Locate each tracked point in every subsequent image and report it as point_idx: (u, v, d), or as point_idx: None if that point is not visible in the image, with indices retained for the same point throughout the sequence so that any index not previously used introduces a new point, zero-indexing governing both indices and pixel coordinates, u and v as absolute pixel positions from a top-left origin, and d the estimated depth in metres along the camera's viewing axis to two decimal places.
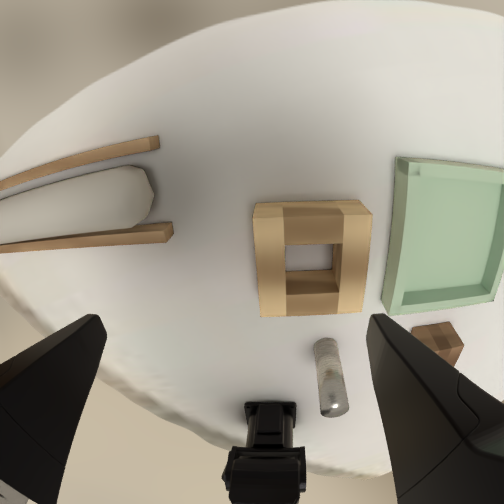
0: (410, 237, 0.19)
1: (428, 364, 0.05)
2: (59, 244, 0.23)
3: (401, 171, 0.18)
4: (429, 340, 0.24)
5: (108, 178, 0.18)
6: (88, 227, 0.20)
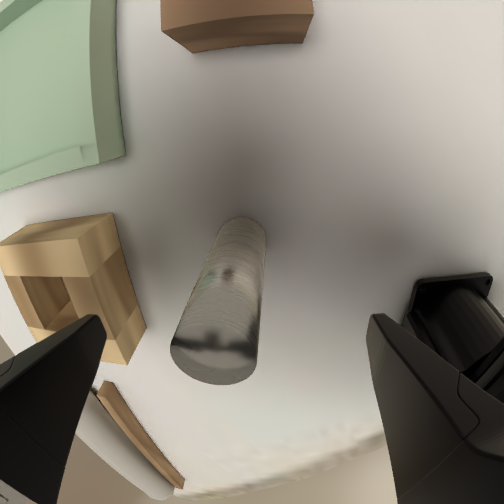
0: (5, 177, 0.11)
1: (428, 364, 0.05)
2: (145, 453, 0.25)
3: None
4: None
5: None
6: (97, 438, 0.21)
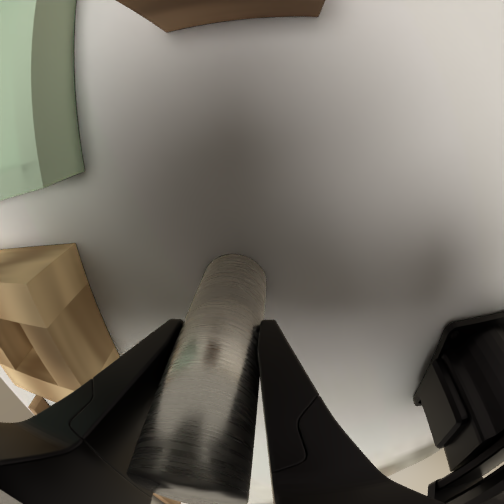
0: None
1: (284, 380, 0.05)
2: None
3: None
4: None
5: None
6: None
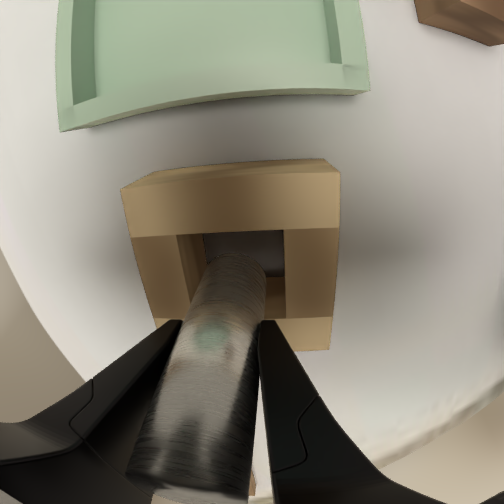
0: (170, 83, 0.09)
1: (284, 380, 0.05)
2: None
3: (89, 125, 0.11)
4: None
5: None
6: None
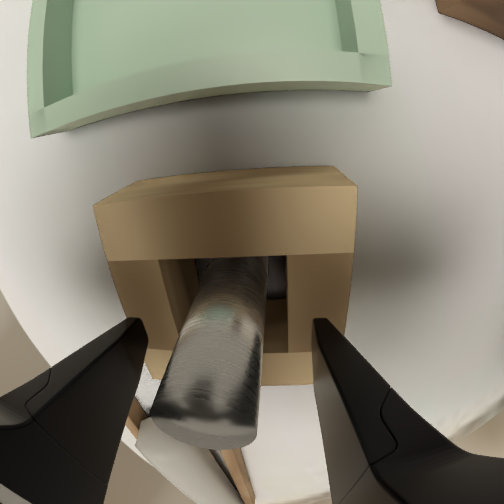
0: (149, 77, 0.07)
1: (355, 375, 0.05)
2: (238, 479, 0.21)
3: (64, 129, 0.09)
4: None
5: None
6: (193, 476, 0.17)
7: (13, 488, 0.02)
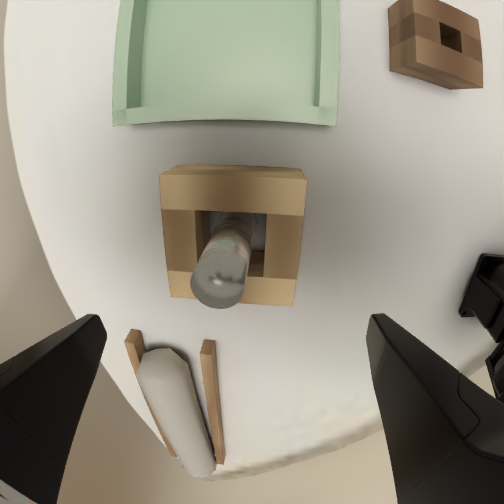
0: (202, 107, 0.14)
1: (428, 364, 0.05)
2: (214, 421, 0.28)
3: None
4: (403, 48, 0.12)
5: (140, 382, 0.23)
6: (180, 406, 0.24)
7: None
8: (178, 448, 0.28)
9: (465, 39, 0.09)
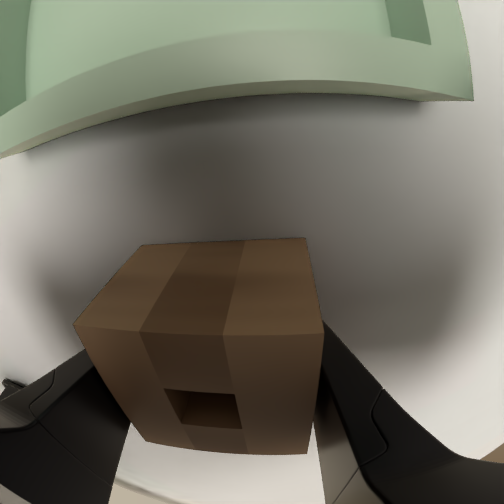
0: None
1: (347, 376, 0.05)
2: None
3: None
4: (144, 284, 0.06)
5: None
6: None
7: (17, 491, 0.02)
8: None
9: (226, 434, 0.06)
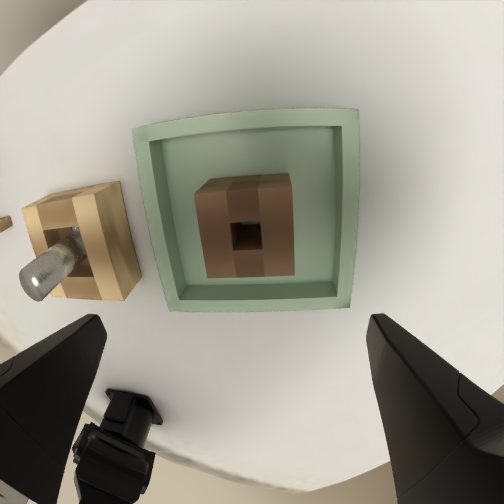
0: (156, 216, 0.17)
1: (428, 364, 0.05)
2: None
3: None
4: (221, 185, 0.16)
5: None
6: None
7: None
8: None
9: (254, 255, 0.16)
